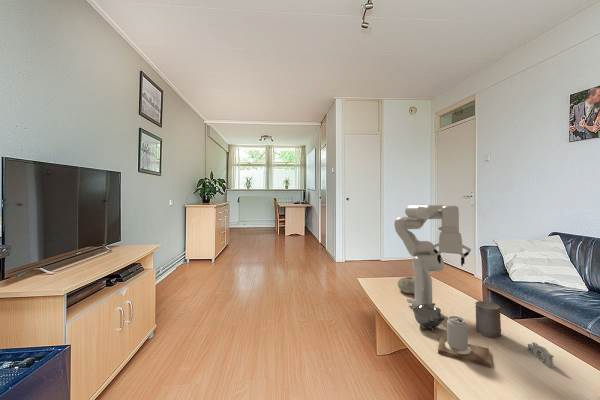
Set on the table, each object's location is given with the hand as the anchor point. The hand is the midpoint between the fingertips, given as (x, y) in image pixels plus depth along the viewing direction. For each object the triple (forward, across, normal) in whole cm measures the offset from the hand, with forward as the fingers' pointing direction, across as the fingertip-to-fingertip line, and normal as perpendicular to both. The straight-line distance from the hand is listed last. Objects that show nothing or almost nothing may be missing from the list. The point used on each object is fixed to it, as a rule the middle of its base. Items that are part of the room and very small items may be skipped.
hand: (450, 264), depth 128 cm
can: (+31, +3, -21) cm, 37 cm away
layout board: (+32, +5, -21) cm, 39 cm away
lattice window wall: (+33, +31, -10) cm, 46 cm away
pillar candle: (+32, +15, +4) cm, 36 cm away
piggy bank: (+32, -10, -5) cm, 34 cm away
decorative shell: (+33, -26, +44) cm, 61 cm away
